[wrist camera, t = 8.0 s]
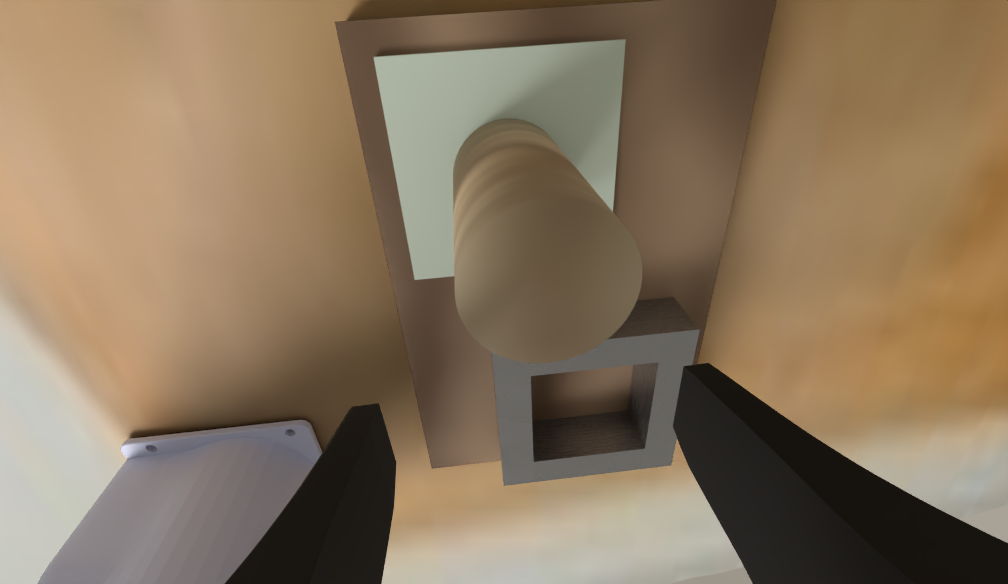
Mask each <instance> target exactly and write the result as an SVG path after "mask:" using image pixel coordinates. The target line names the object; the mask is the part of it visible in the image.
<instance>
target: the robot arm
mask: <svg viewBox="0 0 1008 584" xmlns="http://www.w3.org/2000/svg"><path fill="white" fill-rule="evenodd" d="M289 429H292V430H289ZM673 429H674V431H675V434H676V436H677V439H678V441H679V444H680V447H681V449H682V451H683V454H684V456H685V458H686V461H687V463H688V466H689V468H690V469H691V471H692V473H693V475H694V477H695V479H696V481H697V482H698V484H699V486H700V488H701V490H702V491H703V493H704V495H705V497H706V499H707V501H708V502H709V504H710V506H711V508H712V509H713V511H714V513H715V515H716V517H717V518H718V520H719V522H720V524H721V525H722V527H723V529H724V531H725V533H726V534H727V536H728V538H729V540H730V542H731V543H732V545H733V547H734V549H735V550H736V552H737V554H738V556H739V558H740V559H741V561H742V563H743V565H744V567H745V569H746V571H747V573H748V575H749V577H750V579H751V581H752V583H753V584H1008V543H1006V542H1004V541H1002V540H1000V539H998V538H996V537H993V536H991V535H989V534H987V533H985V532H983V531H981V530H979V529H977V528H975V527H973V526H971V525H969V524H967V523H965V522H963V521H961V520H959V519H957V518H955V517H953V516H951V515H949V514H947V513H945V512H943V511H941V510H939V509H937V508H935V507H933V506H931V505H929V504H927V503H926V502H924V501H922V500H920V499H918V498H916V497H914V496H912V495H911V494H909V493H907V492H905V491H903V490H902V489H900V488H898V487H896V486H895V485H893V484H891V483H889V482H887V481H886V480H884V479H882V478H880V477H878V476H877V475H875V474H873V473H871V472H870V471H868V470H866V469H865V468H863V467H861V466H860V465H858V464H856V463H855V462H853V461H851V460H850V459H848V458H847V457H845V456H843V455H842V454H840V453H839V452H837V451H835V450H834V449H832V448H831V447H829V446H827V445H826V444H824V443H823V442H821V441H820V440H818V439H817V438H815V437H813V436H812V435H810V434H809V433H807V432H806V431H804V430H803V429H801V428H800V427H798V426H797V425H796V424H794V423H793V422H791V421H790V420H788V419H787V418H785V417H784V416H782V415H781V414H780V413H778V412H777V411H775V410H774V409H772V408H771V407H770V406H768V405H767V404H765V403H764V402H763V401H761V400H760V399H758V398H757V397H756V396H754V395H753V394H751V393H750V392H749V391H747V390H746V389H744V388H743V387H742V386H740V385H739V384H738V383H736V382H735V381H733V380H732V379H731V378H729V377H728V376H726V375H725V374H724V373H722V372H721V371H719V370H718V369H716V368H715V367H714V366H712V365H711V364H709V363H705V364H697V365H689V366H684V367H683V372H682V378H681V383H680V389H679V394H678V400H677V405H676V411H675V416H674V422H673ZM120 449H121V451H122V453H123V454H124V455H125V457H126V458H127V460H126V462H125V463H124V464H123V466H122V467H121V468H120V470H119V471H118V472H117V474H116V475H115V476H114V478H113V479H112V481H111V482H110V483H109V485H108V486H107V487H106V489H105V490H104V491H103V493H102V494H101V495H100V497H99V498H98V499H97V501H96V502H95V503H94V505H93V506H92V507H91V509H90V510H89V511H88V513H87V514H86V516H85V517H84V518H83V520H82V521H81V522H80V524H79V525H78V526H77V528H76V529H75V530H74V532H73V533H72V534H71V536H70V537H69V538H68V540H67V541H66V542H65V544H64V545H63V546H62V548H61V549H60V550H59V552H58V553H57V555H56V556H55V557H54V559H53V560H52V561H51V563H50V564H49V565H48V567H47V568H46V570H45V572H44V573H43V575H42V576H41V578H40V580H39V582H38V584H381V582H382V576H383V570H384V564H385V558H386V552H387V546H388V540H389V534H390V528H391V521H392V515H393V509H394V496H395V476H396V460H395V457H394V453H393V450H392V447H391V443H390V440H389V436H388V433H387V430H386V426H385V423H384V419H383V416H382V413H381V409H380V406H379V404H371V405H363V406H355V407H352V408H351V409H350V410H349V411H348V413H347V414H346V416H345V417H344V419H343V421H342V422H341V424H340V426H339V427H338V429H337V430H336V432H335V434H334V435H333V437H332V438H331V440H330V442H329V443H328V445H327V446H326V448H325V449H324V451H323V452H322V451H321V448H320V446H319V443H318V441H317V438H316V436H315V433H314V431H313V428H312V426H311V424H310V423H309V422H307V421H305V420H294V421H285V422H276V423H267V424H258V425H249V426H240V427H231V428H222V429H213V430H204V431H195V432H186V433H177V434H168V435H159V436H150V437H141V438H132V439H127V440H126V441H125V442H124V443H123V444H122V445H121V448H120Z"/></svg>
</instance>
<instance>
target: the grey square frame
mask: <svg viewBox="0 0 1008 584" xmlns="http://www.w3.org/2000/svg"><path fill="white" fill-rule="evenodd" d="M699 331H700V329H699V328H698V327H697V325H696V324H695V323H694V322H693V320H692V319H691V318H690V317H689V315H688V314H687V313H686V312H685V310H684V309H683V308H682V307H681V305H680V304H679V303H678V301H677V300H676V299H675V298H674V297H667V298H657V299H647V300H638V301H636V303H635V306H634V308H633V310H632V311H631V313H630V315H629V316H628V318H627V319H626V320H625V322H624V323H623V324H622V326H621V327H620V328H619V329H618V330H617V331H616V332H615V333H614V334H613V335H612V336H610V337H609V338H608V339H607V340H606V341H604V342H603V343H601V344H600V345H598V346H597V347H595V348H593V349H592V350H590V351H588V352H586V353H584V354H581V355H579V356H576V357H573V358H570V359H567V360H563V361H558V362H552V363H525V362H519V361H514V360H510V359H507V358H504V357H501V356H499V355H497V354H495V353H493V352H491V358H492V369H493V380H494V390H495V401H496V412H497V423H498V434H499V445H500V454H501V463H502V472H503V482H504V486H505V485H513V484H522V483H530V482H538V481H546V480H554V479H563V478H571V477H579V476H587V475H595V474H604V473H612V472H620V471H628V470H636V469H645V468H653V467H661V466H669V465H671V463H672V458H673V454H674V449H675V444H676V440H677V436H676V434H675V431H674V429H673V422H674V416H675V411H676V405H677V400H678V394H679V389H680V383H681V378H682V372H683V367H684V366H689V365H692V364H693V359H694V355H695V350H696V345H697V340H698V336H699ZM628 365H633V371H632V379H631V387H630V395H629V404H628V410H625V411H616V412H608V413H599V414H590V415H581V416H573V417H564V418H555V419H547V420H538V421H532V400H531V376H537V375H546V374H555V373H564V372H574V371H583V370H592V369H601V368H610V367H619V366H628Z"/></svg>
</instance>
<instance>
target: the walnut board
mask: <svg viewBox="0 0 1008 584" xmlns="http://www.w3.org/2000/svg"><path fill="white" fill-rule="evenodd" d="M776 1H777V0H659V1H644V2H629V3H613V4H598V5H583V6H568V7H553V8H537V9H522V10H507V11H492V12H477V13H461V14H446V15H431V16H416V17H400V18H385V19H370V20H355V21H340V22H335V25H336V29H337V34H338V39H339V43H340V48H341V52H342V57H343V62H344V66H345V71H346V75H347V80H348V85H349V89H350V94H351V98H352V103H353V108H354V112H355V117H356V121H357V126H358V131H359V135H360V140H361V144H362V149H363V154H364V158H365V163H366V167H367V172H368V177H369V181H370V186H371V190H372V195H373V200H374V204H375V209H376V213H377V218H378V223H379V227H380V232H381V236H382V241H383V246H384V250H385V255H386V259H387V264H388V269H389V273H390V278H391V282H392V287H393V292H394V296H395V301H396V305H397V310H398V315H399V319H400V324H401V328H402V333H403V338H404V342H405V347H406V351H407V356H408V361H409V365H410V370H411V374H412V379H413V384H414V388H415V393H416V397H417V402H418V407H419V411H420V416H421V420H422V425H423V430H424V434H425V439H426V444H427V448H428V453H429V457H430V462H431V467H432V469H433V468H441V467H450V466H458V465H467V464H475V463H483V462H492V461H500V460H501V454H500V445H499V434H498V423H497V412H496V401H495V390H494V380H493V369H492V358H491V351H490V350H488V349H486V348H485V347H483V346H482V345H481V344H480V343H479V342H477V341H476V340H475V339H474V338H473V336H472V335H471V334H470V333H469V332H468V330H467V329H466V327H465V326H464V324H463V322H462V320H461V318H460V316H459V313H458V310H457V306H456V301H455V281H454V276H451V277H441V278H430V279H420V280H415V279H414V273H413V268H412V262H411V257H410V252H409V246H408V241H407V235H406V230H405V225H404V219H403V214H402V208H401V203H400V198H399V192H398V187H397V182H396V176H395V171H394V165H393V160H392V155H391V149H390V144H389V138H388V133H387V128H386V122H385V117H384V111H383V106H382V101H381V95H380V90H379V84H378V79H377V74H376V68H375V63H374V57H376V56H390V55H404V54H418V53H433V52H447V51H461V50H475V49H490V48H504V47H518V46H533V45H547V44H561V43H575V42H590V41H604V40H618V39H626V42H625V55H624V69H623V82H622V96H621V109H620V123H619V136H618V150H617V163H616V177H615V190H614V204H613V213H614V214H615V215H616V216H617V218H618V219H619V220H620V221H621V222H622V224H623V225H624V226H625V227H626V228H627V230H628V231H629V233H630V234H631V235H632V237H633V239H634V241H635V242H636V244H637V247H638V250H639V253H640V256H641V262H642V283H641V289H640V292H639V296H638V299H637V301H638V300H647V299H657V298H667V297H674V298H675V299H676V300H677V301H678V303H679V304H680V305H681V307H682V308H683V309H684V310H685V312H686V313H687V314H688V315H689V317H690V318H691V319H692V320H693V322H694V323H695V324H696V325H697V327H698V328H699V329H700V331H699V336H698V340H697V345H696V350H695V355H694V359H693V364H692V365H697V362H698V357H699V353H700V348H701V344H702V339H703V334H704V330H705V325H706V321H707V316H708V312H709V307H710V302H711V298H712V293H713V289H714V284H715V280H716V275H717V270H718V266H719V261H720V257H721V252H722V248H723V243H724V238H725V234H726V229H727V225H728V220H729V216H730V211H731V206H732V202H733V197H734V193H735V188H736V184H737V179H738V175H739V170H740V165H741V161H742V156H743V152H744V147H745V143H746V138H747V133H748V129H749V124H750V120H751V115H752V111H753V106H754V101H755V97H756V92H757V88H758V83H759V79H760V74H761V69H762V65H763V60H764V56H765V51H766V47H767V42H768V37H769V33H770V28H771V24H772V19H773V15H774V10H775V5H776ZM632 371H633V365H628V366H619V367H610V368H601V369H592V370H583V371H574V372H564V373H555V374H546V375H537V376H531V400H532V421H538V420H547V419H555V418H564V417H573V416H581V415H590V414H599V413H608V412H616V411H625V410H628V404H629V395H630V387H631V379H632Z"/></svg>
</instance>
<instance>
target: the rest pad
mask: <svg viewBox="0 0 1008 584" xmlns="http://www.w3.org/2000/svg"><path fill="white" fill-rule="evenodd" d="M625 42H626V39H618V40H604V41H590V42H575V43H561V44H547V45H533V46H518V47H504V48H490V49H475V50H461V51H447V52H433V53H418V54H404V55H390V56H376V57H374V63H375V68H376V74H377V79H378V84H379V90H380V95H381V101H382V106H383V111H384V117H385V122H386V128H387V133H388V138H389V144H390V149H391V155H392V160H393V165H394V171H395V176H396V182H397V187H398V192H399V198H400V203H401V208H402V214H403V219H404V225H405V230H406V235H407V241H408V246H409V252H410V257H411V262H412V268H413V273H414V279H415V280H420V279H430V278H441V277H451V276H454V213H453V168H454V162H455V159H456V156H457V153H458V151H459V149H460V147H461V146H462V144H463V143H464V141H465V140H466V139H467V138H468V136H469V135H471V134H472V133H473V132H474V131H475V130H477V129H478V128H479V127H481V126H483V125H485V124H487V123H489V122H492V121H495V120H500V119H520V120H524V121H527V122H530V123H533V124H534V125H536V126H538V127H540V128H541V129H542V130H544V131H545V132H546V133H547V134H548V135H549V136H550V137H551V138H552V140H553V141H554V142H555V143H556V144H557V146H558V147H559V148H560V149H561V150H562V152H563V153H564V154H565V155H566V156H567V158H568V159H569V160H570V161H571V162H572V164H573V165H574V166H575V167H576V168H577V170H578V171H579V172H580V173H581V174H582V176H583V177H584V178H585V179H586V180H587V182H588V183H589V184H590V185H591V186H592V188H593V189H594V190H595V191H596V192H597V194H598V195H599V196H600V197H601V198H602V200H603V201H604V202H605V203H606V204H607V206H608V207H609V208H610V209H611V210H612V212H613V204H614V190H615V177H616V163H617V150H618V136H619V123H620V109H621V96H622V82H623V69H624V55H625Z"/></svg>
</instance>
